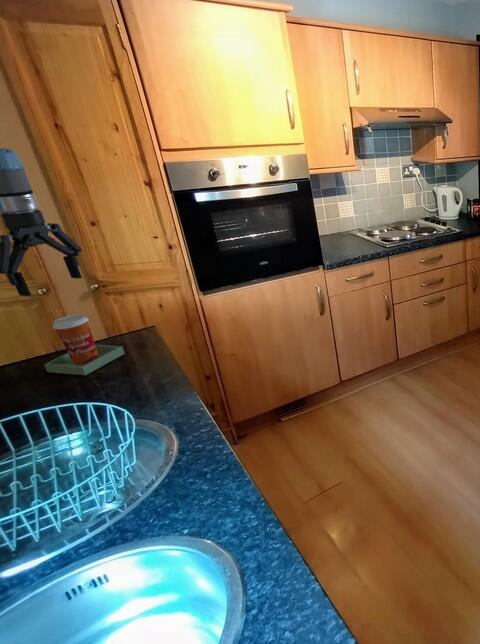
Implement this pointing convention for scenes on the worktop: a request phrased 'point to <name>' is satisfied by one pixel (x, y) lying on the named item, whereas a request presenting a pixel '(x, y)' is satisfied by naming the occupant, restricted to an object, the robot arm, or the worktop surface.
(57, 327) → the paper cup
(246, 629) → the worktop surface
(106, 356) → the tray
